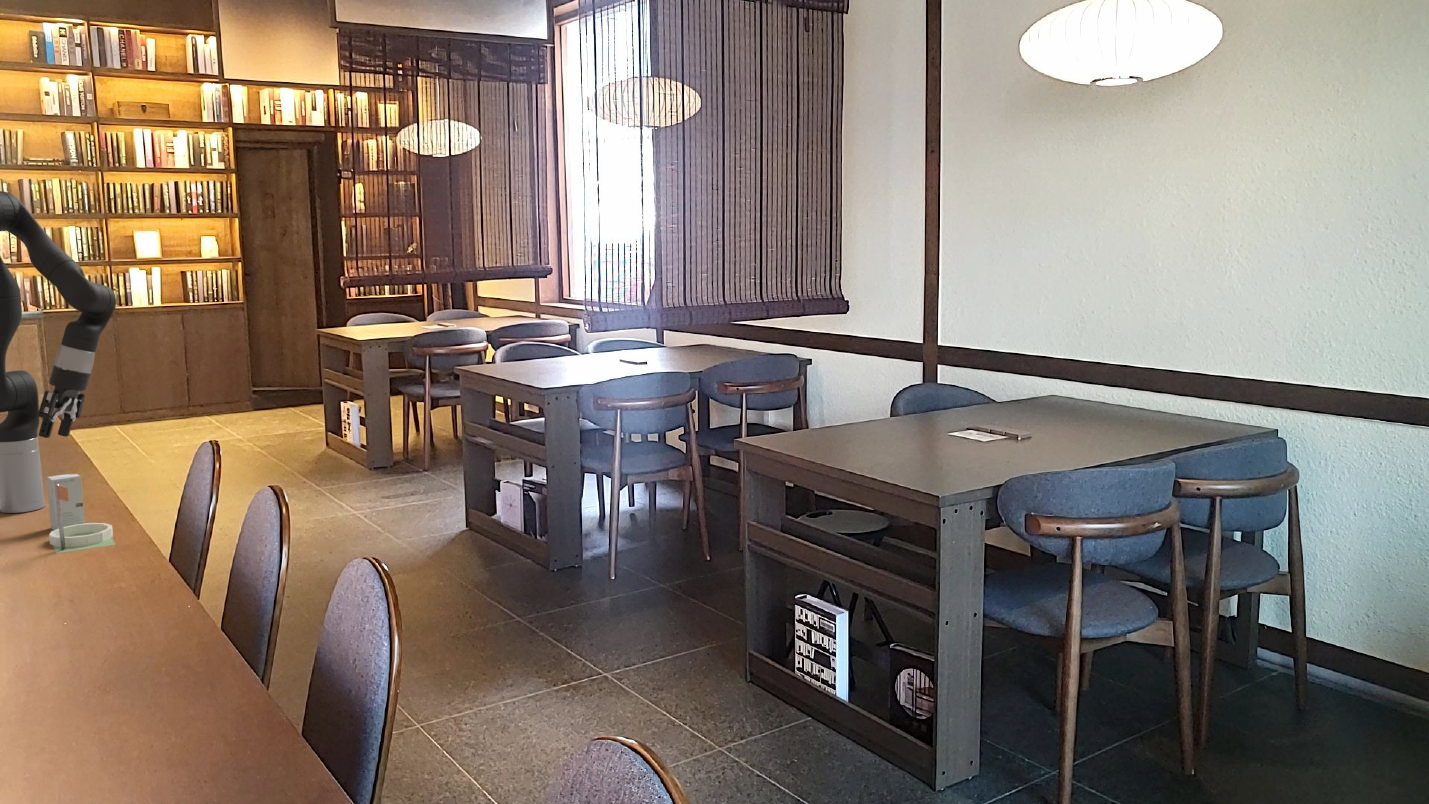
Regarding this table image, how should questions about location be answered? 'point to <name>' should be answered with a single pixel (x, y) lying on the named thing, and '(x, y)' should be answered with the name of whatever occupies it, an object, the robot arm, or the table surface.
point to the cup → (99, 530)
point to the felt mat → (96, 545)
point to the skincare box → (70, 509)
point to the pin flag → (61, 495)
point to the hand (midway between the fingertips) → (53, 436)
